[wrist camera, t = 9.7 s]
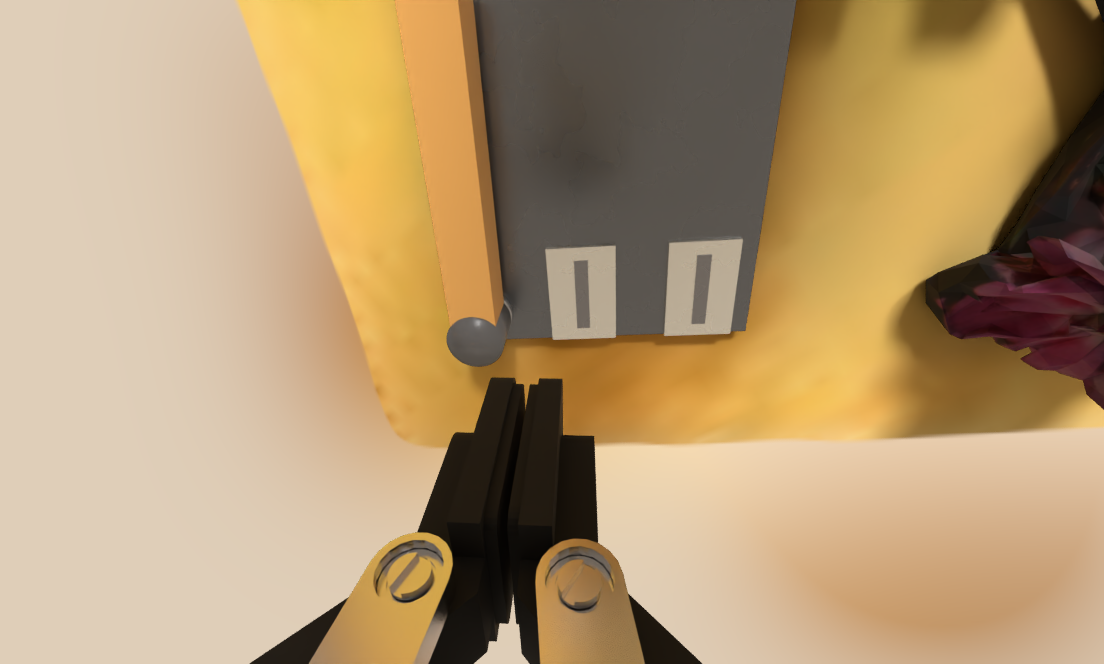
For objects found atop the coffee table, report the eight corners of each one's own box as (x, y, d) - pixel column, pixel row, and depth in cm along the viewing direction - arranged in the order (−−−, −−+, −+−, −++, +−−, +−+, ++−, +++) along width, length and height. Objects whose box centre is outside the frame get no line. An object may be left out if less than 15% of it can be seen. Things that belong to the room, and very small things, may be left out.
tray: (395, -45, 21) (380, -55, 19) (799, -90, 19) (817, -105, 18) (466, 331, 30) (460, 344, 29) (739, 321, 29) (747, 334, 27)
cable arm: (513, 340, 28) (506, 366, 26) (463, 340, 28) (451, 366, 26) (480, -6, 20) (464, -20, 17) (409, -2, 20) (383, -15, 17)
